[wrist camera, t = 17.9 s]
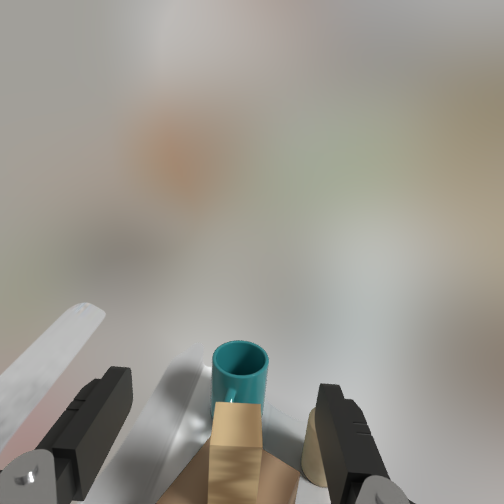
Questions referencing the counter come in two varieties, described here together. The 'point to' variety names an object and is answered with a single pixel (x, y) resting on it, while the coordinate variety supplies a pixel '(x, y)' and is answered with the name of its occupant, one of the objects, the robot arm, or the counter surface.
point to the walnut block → (269, 487)
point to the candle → (313, 455)
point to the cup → (239, 374)
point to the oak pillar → (235, 453)
